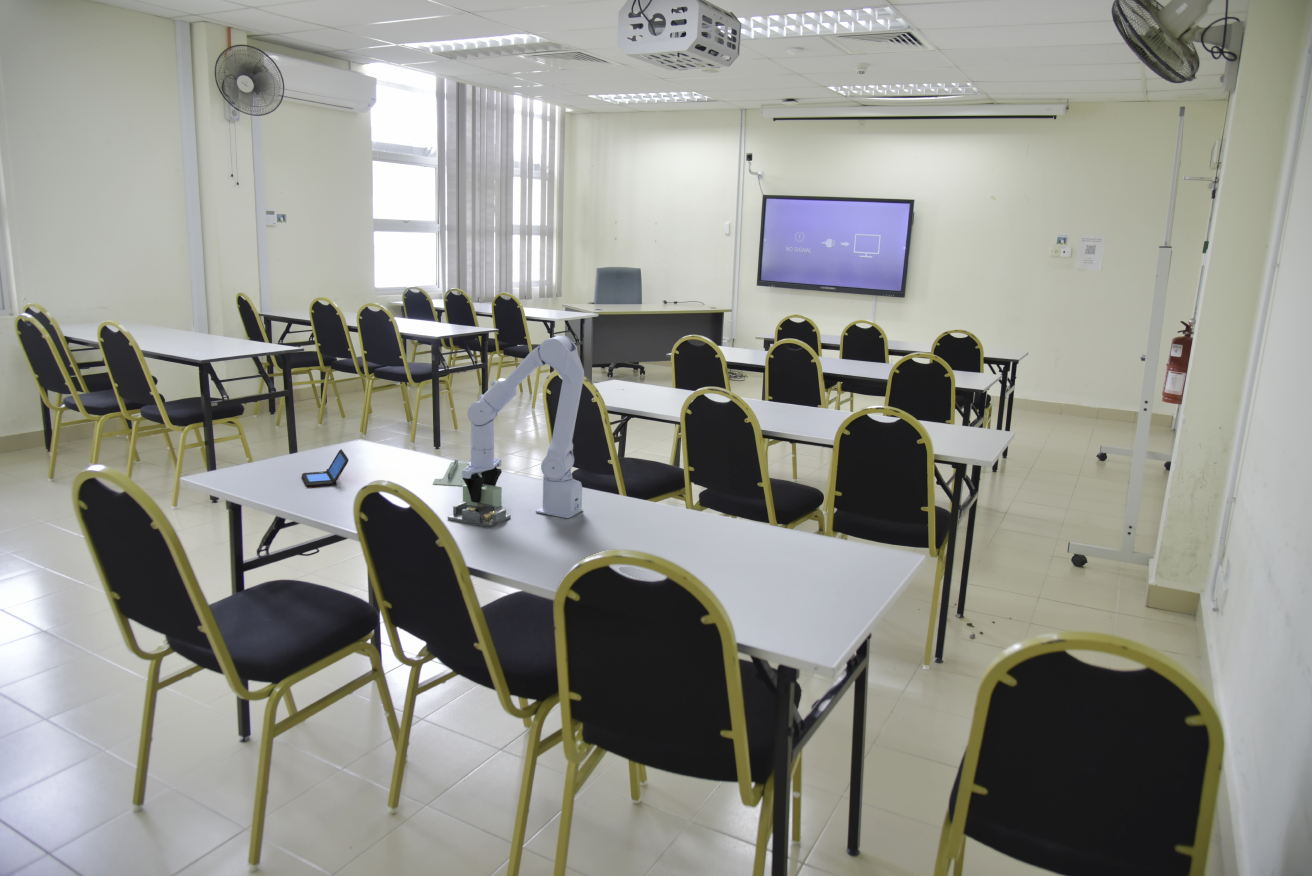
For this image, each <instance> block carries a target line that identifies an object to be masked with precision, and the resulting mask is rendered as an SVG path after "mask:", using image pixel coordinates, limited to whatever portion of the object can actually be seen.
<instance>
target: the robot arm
mask: <svg viewBox="0 0 1312 876" xmlns="http://www.w3.org/2000/svg"><path fill="white" fill-rule="evenodd" d="M545 365H548V366H549V367H551V368H553V370H555V371H556V372H557V373H558V375H560V377H561V378H562V381H561V382H562V383H561V387H560V393H559V399H558V403H557V404H558V405H557V410H556V415H555V420H554V421H555V422H554V425H553V426H554V427H553V430H552V438H551V440H550V444H549V446H548V447H547V448H548V449H547V452H546V453H547V454H546V456H545V457H544V458H543V460H542V462H541V466H540V470H541V472H542V474H543V475H542V476H543V478H542V480H543V481H542V507H539V508H538V509H536V510H535V513H539V514H544V515H548V516H554V517H559V518H566V519H570V518H572V517H574V516H576V515H577V514H579V513H580V512H583V510H584V509H583V507H582V504H583V485H582V482H581V481H579V480H576V479H574V478H573V474H572V471H571V469H572V468H573V466H574V464H575V456H574V451H573V450H574V443H573V438H574V432H575V427H576V421H577V417H578V416H577V415H578V410H579V407H580V406H579V405H580V400H581V394H582V389H583V384H584V377H585V370H584V367H583V364H582V361H581V358H580V356H579V352H578V346H577V345H576V344H575V343H574V342H573V341H572V339H570V338H569V336H566V335H564V334H558V335H555V336H553V337H551V338H546V339H545V340H543V342H541V344H540V345H538V346H536V347H535V348H533V350H532V351H530V352H529V353H528V354H527V355H526V357H525V358H524V359H522V360H521V362H520V363H519V364H518V365H517V367H516V368H515V369H514V370H513V371H512V372H511V373H510V374H509V375H508V376H507V377H506V378H498V379H497V380H496V379H495V380H493V381H492V382H490V385H491V387H489V388H488V390H486V392H484V394H483V393H481V394H480V395H478V399H479V401H475V402H473V403H470V406H469V408H468V410H467V417H468V420H469V421H470V459H471V462H469V461H468V462H466V463H467V465H468V467H467V468H466V469H464V470H462V479H463V480H464V482H465V483H466V485H467V488H468V490H469V494H470V498H471V501H472V502H475V503H479V502H480V499H481V489H482V485H483V484H486V485H492V486H497V482H498V480H499V478H500V476H501V474H502V472H503V471H502V468H499V467H502V458H498V457H497V458H496V457H495V430H494V429H495V428H494V427H495V423H494V422H495V421H494V420H495V419H496V418H497V416H498V413H500V412H501V411H502V410H503V408H504V407H506V406H507V405H508V404H509V402H510V401H511V400H512V399H513V398H514V397H516V395H517V387H518V386H519V385H520V384H521V383H522V382H523V381H524V380H525V379H526V378H528V376H530V375H532V373H533V372H534V371H535V370H536V369H538V367H542V366H545ZM479 473H481V476H482V477H479V476H478V474H479Z"/></svg>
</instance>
